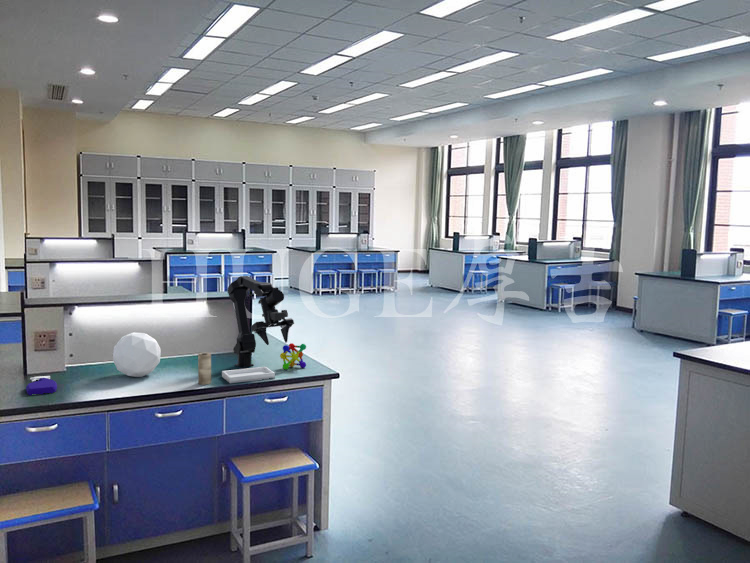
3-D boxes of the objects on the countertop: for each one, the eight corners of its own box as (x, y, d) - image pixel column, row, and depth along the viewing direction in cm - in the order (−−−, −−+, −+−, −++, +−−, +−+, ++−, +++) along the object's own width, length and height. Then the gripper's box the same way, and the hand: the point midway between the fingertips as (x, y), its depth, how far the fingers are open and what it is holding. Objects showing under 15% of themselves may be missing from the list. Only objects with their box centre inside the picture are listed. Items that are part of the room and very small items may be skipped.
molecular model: (283, 370, 283) (284, 345, 282) (278, 367, 289) (279, 342, 288) (307, 368, 288) (307, 344, 287) (301, 365, 295) (302, 341, 294)
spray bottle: (57, 386, 240) (55, 372, 262) (25, 389, 235) (26, 375, 257) (57, 393, 241) (55, 379, 262) (25, 397, 235) (26, 382, 257)
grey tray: (229, 383, 260) (229, 377, 260) (222, 376, 270) (222, 371, 270) (274, 378, 270) (274, 372, 269) (265, 371, 280) (265, 366, 280)
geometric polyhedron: (148, 392, 268) (161, 361, 258) (101, 378, 262) (112, 346, 252) (158, 362, 283) (171, 332, 273) (114, 348, 277) (125, 317, 267)
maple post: (196, 382, 259) (195, 353, 258) (206, 380, 263) (206, 351, 262) (202, 385, 256) (202, 355, 254) (213, 383, 259) (213, 353, 258)
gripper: (258, 305, 259) (266, 340, 255) (295, 302, 271) (304, 335, 267) (246, 313, 267) (255, 348, 263) (283, 310, 279) (292, 343, 275)
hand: (277, 343), depth 266 cm, fingers open, 9 cm apart
